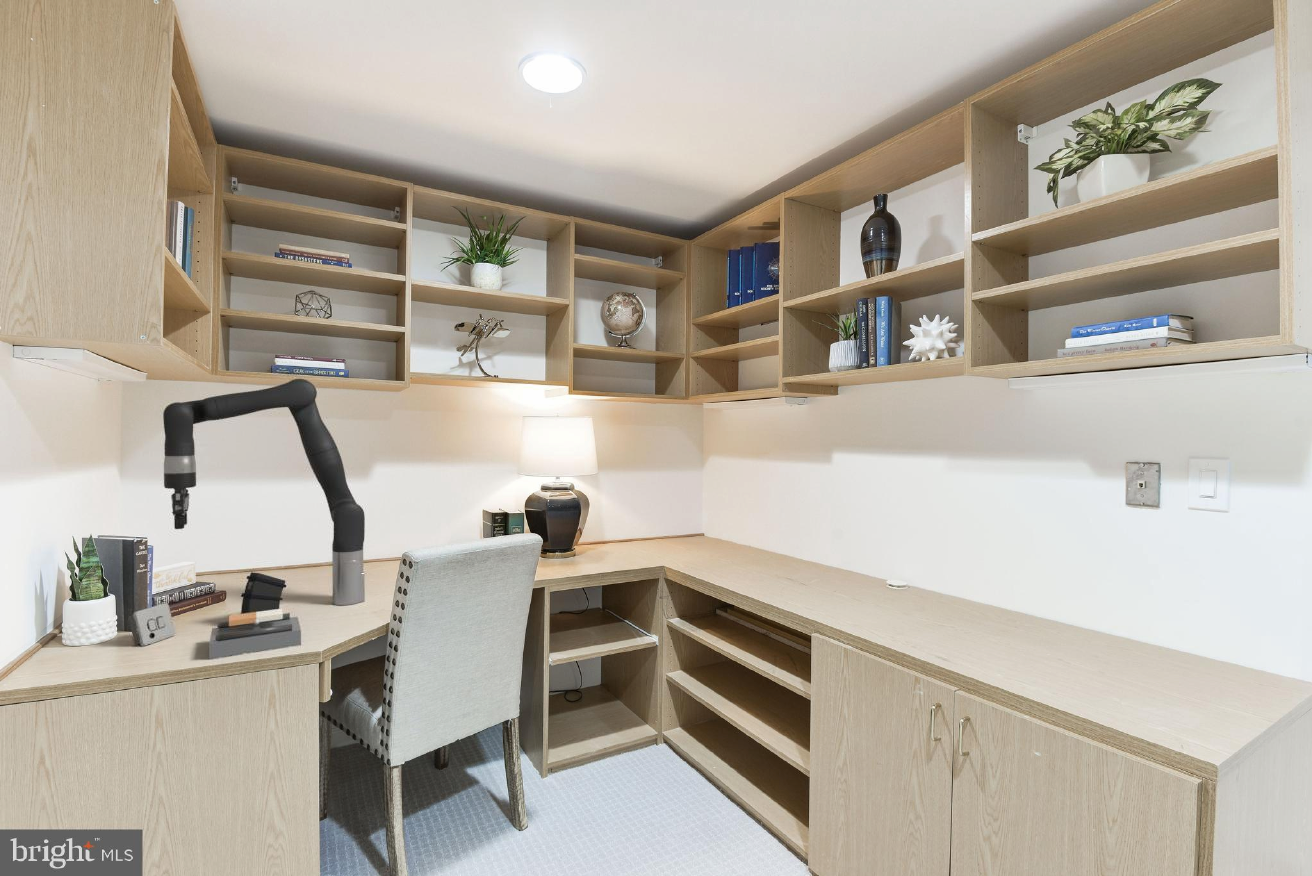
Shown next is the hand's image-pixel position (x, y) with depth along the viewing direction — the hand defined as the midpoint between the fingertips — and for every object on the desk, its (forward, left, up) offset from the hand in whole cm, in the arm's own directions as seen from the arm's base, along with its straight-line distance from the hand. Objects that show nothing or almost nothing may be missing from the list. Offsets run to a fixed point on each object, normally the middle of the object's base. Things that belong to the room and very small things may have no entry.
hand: (181, 526), depth 186 cm
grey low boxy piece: (-18, +31, -29) cm, 46 cm away
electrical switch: (+6, +13, -29) cm, 32 cm away
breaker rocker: (-18, +31, -22) cm, 42 cm away
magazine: (-20, +8, -29) cm, 36 cm away
